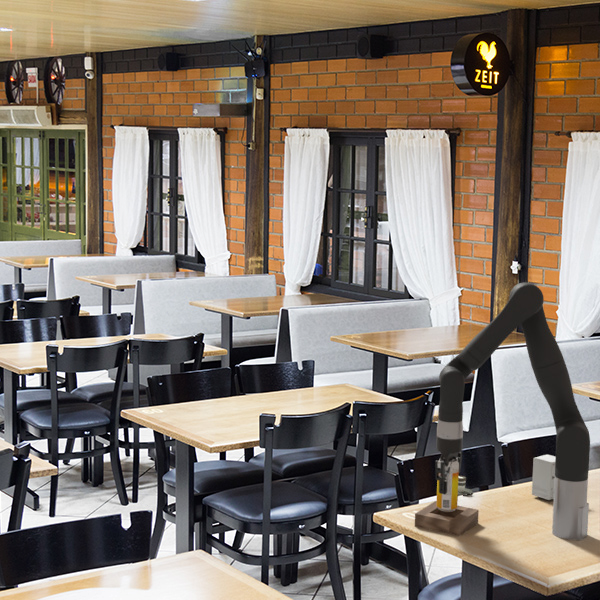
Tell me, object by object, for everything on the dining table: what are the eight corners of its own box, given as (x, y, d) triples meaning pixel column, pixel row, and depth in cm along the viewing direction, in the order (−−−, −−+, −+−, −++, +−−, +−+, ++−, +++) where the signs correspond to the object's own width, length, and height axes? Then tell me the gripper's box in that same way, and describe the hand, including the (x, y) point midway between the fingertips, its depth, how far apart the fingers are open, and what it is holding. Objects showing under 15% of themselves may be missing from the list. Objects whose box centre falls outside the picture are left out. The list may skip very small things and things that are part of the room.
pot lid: (469, 499, 312) (470, 484, 311) (436, 492, 318) (436, 477, 318) (484, 490, 322) (485, 475, 321) (451, 483, 328) (452, 469, 328)
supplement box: (549, 500, 311) (551, 462, 309) (531, 494, 316) (532, 457, 315) (563, 496, 315) (565, 458, 314) (544, 490, 321) (546, 453, 319)
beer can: (456, 506, 288) (458, 457, 286) (457, 512, 282) (459, 462, 280) (435, 505, 288) (437, 456, 286) (436, 511, 282) (438, 461, 280)
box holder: (478, 524, 288) (478, 509, 287) (459, 538, 276) (459, 523, 275) (434, 515, 295) (435, 501, 295) (414, 528, 283) (415, 513, 283)
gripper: (451, 442, 274) (449, 499, 276) (471, 431, 286) (469, 486, 288) (427, 438, 278) (425, 494, 280) (448, 428, 290) (446, 482, 292)
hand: (447, 490), depth 284 cm, fingers closed on beer can, 6 cm apart
